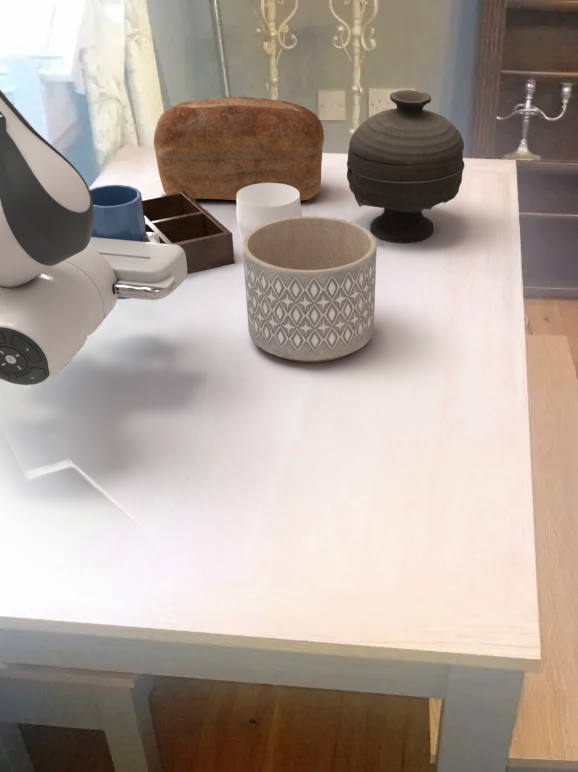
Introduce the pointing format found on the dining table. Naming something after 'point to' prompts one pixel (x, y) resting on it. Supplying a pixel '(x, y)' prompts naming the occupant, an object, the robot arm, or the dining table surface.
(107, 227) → the tumbler
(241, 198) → the cup
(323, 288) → the planter
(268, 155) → the bread
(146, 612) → the dining table surface
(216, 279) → the dining table surface
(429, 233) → the pot
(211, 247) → the cup rack
